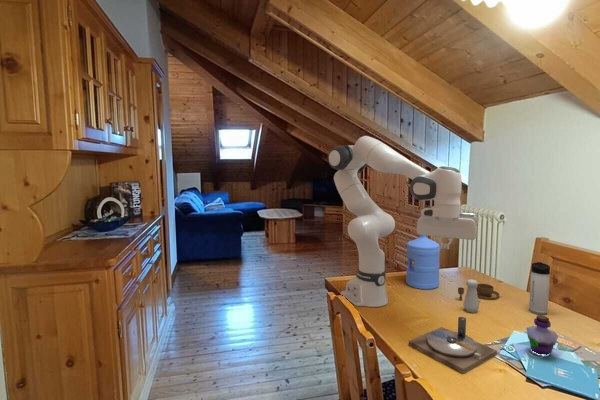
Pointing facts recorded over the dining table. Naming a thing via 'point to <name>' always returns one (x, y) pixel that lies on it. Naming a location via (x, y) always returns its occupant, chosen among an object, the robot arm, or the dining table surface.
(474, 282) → the salt shaker
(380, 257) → the robot arm
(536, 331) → the potion bottle
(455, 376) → the dining table surface
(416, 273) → the water jug
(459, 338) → the dial
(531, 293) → the travel mug
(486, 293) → the brown cup and saucer
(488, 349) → the stand
